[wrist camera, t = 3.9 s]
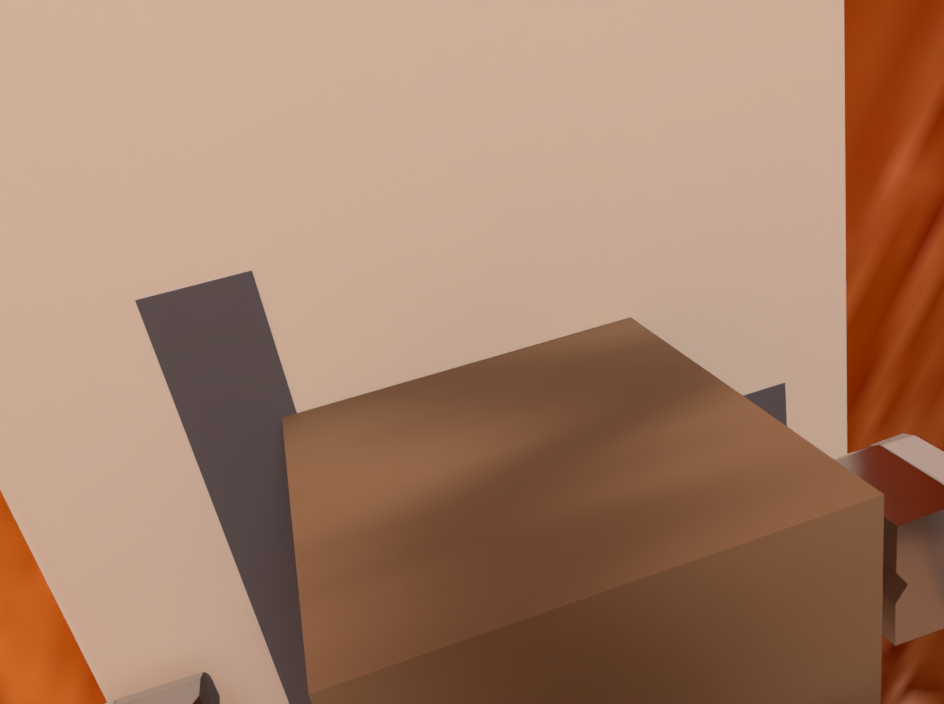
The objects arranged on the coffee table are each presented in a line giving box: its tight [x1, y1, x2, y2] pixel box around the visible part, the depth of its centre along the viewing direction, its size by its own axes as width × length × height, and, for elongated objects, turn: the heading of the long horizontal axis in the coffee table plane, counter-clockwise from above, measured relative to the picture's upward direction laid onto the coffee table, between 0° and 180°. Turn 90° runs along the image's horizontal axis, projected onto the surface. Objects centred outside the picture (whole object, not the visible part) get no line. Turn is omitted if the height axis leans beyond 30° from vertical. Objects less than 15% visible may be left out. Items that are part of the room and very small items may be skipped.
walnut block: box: [282, 317, 884, 704], centre depth 10 cm, size 5×5×5 cm
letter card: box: [0, 0, 847, 704], centre depth 12 cm, size 12×16×1 cm
